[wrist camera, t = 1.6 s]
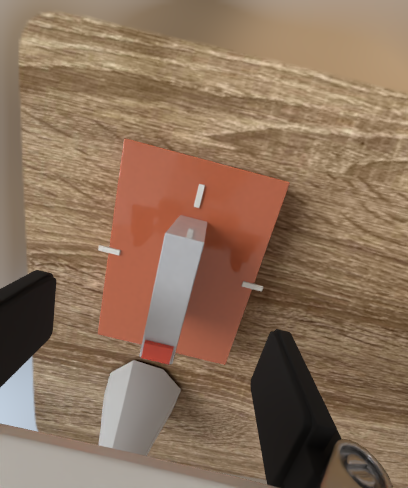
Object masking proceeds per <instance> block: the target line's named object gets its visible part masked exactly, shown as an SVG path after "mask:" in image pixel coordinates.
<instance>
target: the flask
mask: <svg viewBox="0 0 408 488" xmlns="http://www.w3.org/2000/svg"><path fill="white" fill-rule="evenodd" d="M180 391H181V389H180V388H179V387H178V386H177V385H176V383H175V382H174V381H173V380H172V379H171V378H170V377H169V375H168V374H167V373H166V372H165V371H164V370H163V369H160V368H157V367H154V366H151V365H147V364H144V363H141V362H138V361H135V360H133V361H131V362H129V363H128V364H126V365H124V366H122V367H120V368H119V369H117V370H115V371H113V372H111V373H110V377H109V380H108V384H107V387H106V391H105V394H104V401H103V410H102V420H101V430H100V437H99V444H98V445H100V446H104V447H109V448H113V449H117V450H122V451H126V452H131V453H135V454H140V455H144V456H147V454H148V452H149V451H150V449H151V447H152V445H153V443H154V441H155V440H156V438H157V436H158V435H159V433H160V431H161V429H162V428H163V426H164V424H165V423H166V421H167V419H168V417H169V416H170V414H171V412H172V410H173V408H174V405H175V403H176V400H177V398H178V396H179V393H180Z"/></svg>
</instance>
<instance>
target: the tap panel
mask: <svg viewBox="0 0 408 488" xmlns="http://www.w3.org/2000/svg"><path fill="white" fill-rule="evenodd" d="M289 184H290V183H289V182H287V181H283V180H280V179H276V178H272V177H268V176H265V175H261V174H257V173H253V172H250V171H246V170H242V169H238V168H235V167H231V166H227V165H223V164H220V163H216V162H212V161H209V160H205V159H201V158H197V157H194V156H190V155H186V154H182V153H179V152H175V151H171V150H167V149H164V148H160V147H156V146H152V145H149V144H145V143H141V142H137V141H134V140H130V139H126V138H125V139H124V143H123V151H122V158H121V165H120V173H119V180H118V188H117V195H116V202H115V210H114V217H113V224H112V232H111V239H110V247H107V246H103V245H99V251H103V252H107V253H109V254H108V261H107V269H106V276H105V284H104V291H103V298H102V306H101V313H100V321H99V328H98V334H99V335H103V336H108V337H112V338H116V339H120V340H124V341H128V342H132V343H137V344H141V345H142V341H143V336H144V331H145V326H146V321H147V317H148V312H149V307H150V302H151V298H152V293H153V288H154V283H155V278H156V274H157V269H158V264H159V259H160V254H161V250H162V245H163V240H164V235H165V233H166V231H167V230H168V229H169V228H170V227H171V225H172V224H173V223H174V222H175V220H176V219H177V218H178V217H179V216H180V215H183V216H187V217H191V218H194V219H198V220H202V221H206V222H208V224H207V230H206V237H205V243H204V247H203V251H202V255H201V258H200V262H199V266H198V270H197V273H196V277H195V281H194V285H193V288H192V292H191V296H190V300H189V303H188V307H187V311H186V315H185V318H184V322H183V326H182V330H181V333H180V337H179V341H178V345H177V348H176V352H175V353H178V354H182V355H186V356H190V357H195V358H199V359H203V360H207V361H211V362H215V363H219V364H224V365H225V364H226V361H227V359H228V356H229V353H230V350H231V347H232V344H233V342H234V339H235V336H236V333H237V330H238V328H239V325H240V322H241V319H242V316H243V314H244V311H245V308H246V305H247V302H248V299H249V297H250V294H251V291H252V289H254V290H258V291H262V289H263V286H261V285H257V284H254V283H255V280H256V277H257V274H258V271H259V269H260V266H261V263H262V260H263V257H264V254H265V252H266V249H267V246H268V243H269V240H270V238H271V235H272V232H273V229H274V226H275V224H276V221H277V218H278V215H279V212H280V209H281V207H282V204H283V201H284V198H285V195H286V193H287V190H288V187H289Z"/></svg>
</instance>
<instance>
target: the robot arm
mask: <svg viewBox="0 0 408 488" xmlns="http://www.w3.org/2000/svg"><path fill="white" fill-rule="evenodd" d="M55 292H56V279H55V278H53V275H52V274H51V273H48V272H44V271H39V270H35V271H33V272H31V273H29V274H27V275H26V276H24V277H22V278H20V279H19V280H17V281H15V282H13V283H11V284H9V285H7V286H5V287H3V288H1V289H0V387H1V386H2V385H3V384H4V383H5V382H6V381H7V380H8V379H9V378H10V377H11V376H12V375H13V374H14V373H15V372H16V371H17V370H18V369H19V368H20V367H21V366H22V365H23V364H24V363H25V362H26V361H27V360H28V359H29V358H30V357H31V356H32V355H33V354H34V353H35V352H36V351H37V350H38V349H39V348H40V347H41V346H42V345H43V344H44V343H45V342H46V341H47V340H48V339H49V338H50V336H51V334H52V331H53V319H54V305H55ZM251 393H252V399H253V404H254V410H255V416H256V422H257V428H258V434H259V440H260V445H261V451H262V457H263V463H264V469H265V475H266V480H267V484H268V485H266V484H262V483H258V482H254V481H251V480H247V479H243V478H239V477H235V476H231V475H226V474H222V473H218V472H213V471H209V470H205V469H200V468H196V467H192V466H187V465H183V464H179V463H174V462H170V461H166V460H161V459H157V458H153V457H148V456H144V455H140V454H135V453H131V452H126V451H122V450H117V449H113V448H109V447H104V446H100V445H95V444H91V443H86V442H82V441H77V440H73V439H68V438H64V437H59V436H55V435H50V434H46V433H41V432H37V431H32V430H27V429H23V428H18V427H13V426H9V425H4V424H0V488H393V486H392V483H391V481H390V478H389V476H388V474H387V473H386V471H385V470H384V468H383V467H382V465H381V464H380V463H379V462H378V461H377V459H376V458H375V457H374V456H373V455H372V454H371V453H370V452H369V451H367V450H366V449H365V448H364V447H362V446H361V445H359V444H358V443H356V442H353V441H351V440H347V439H341V437H340V435H339V433H338V431H337V428H336V426H335V424H334V422H333V420H332V418H331V416H330V414H329V411H328V409H327V407H326V405H325V403H324V401H323V399H322V397H321V395H320V393H319V391H318V389H317V387H316V385H315V382H314V380H313V378H312V376H311V374H310V372H309V370H308V368H307V366H306V364H305V362H304V360H303V358H302V356H301V353H300V351H299V349H298V347H297V345H296V343H295V341H294V339H293V337H292V335H291V333H290V332H287V331H283V330H279V329H276V330H275V331H274V332H273V331H271V332H270V334H269V336H268V339H267V341H266V344H265V346H264V349H263V351H262V354H261V356H260V359H259V361H258V364H257V366H256V369H255V371H254V374H253V376H252V379H251Z"/></svg>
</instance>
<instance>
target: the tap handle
mask: <svg viewBox="0 0 408 488" xmlns="http://www.w3.org/2000/svg"><path fill="white" fill-rule="evenodd" d="M207 224H208V222H206V221H202V220H198V219H194V218H191V217H187V216H183V215H180V216H179V217H178V218H177V219H176V220H175V222H174V223H173V224H172V225H171V227H170V228H169V229H168V230H167V231H166V233H165V235H164V240H163V245H162V250H161V254H160V259H159V264H158V269H157V274H156V278H155V283H154V288H153V293H152V298H151V302H150V307H149V312H148V317H147V321H146V326H145V331H144V336H143V341H142V345H141V350H140V357H141V358H143V359H148V360H152V361H156V362H160V363H164V364H168V365H169V364H172V363H173V360H174V356H175V352H176V348H177V345H178V341H179V337H180V333H181V330H182V326H183V322H184V318H185V315H186V311H187V307H188V303H189V300H190V296H191V292H192V288H193V285H194V281H195V277H196V273H197V270H198V266H199V262H200V258H201V255H202V251H203V247H204V243H205V237H206V230H207Z"/></svg>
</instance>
